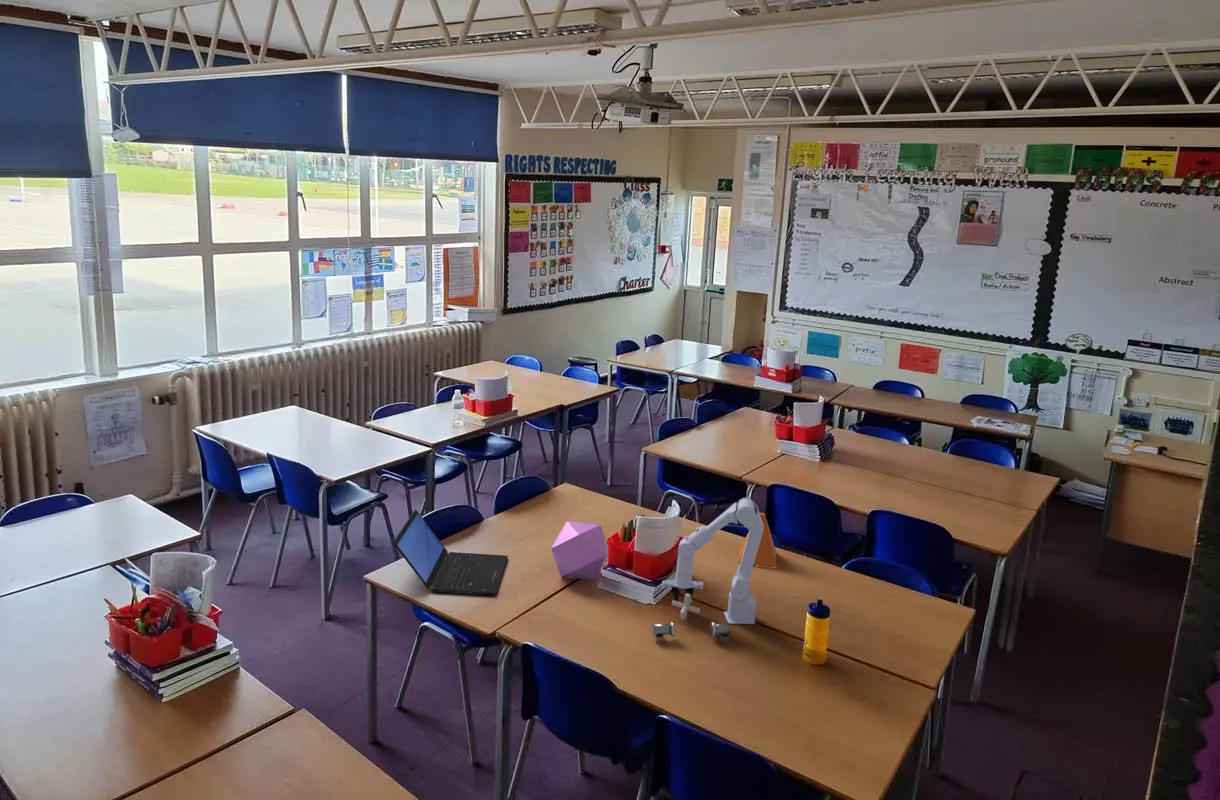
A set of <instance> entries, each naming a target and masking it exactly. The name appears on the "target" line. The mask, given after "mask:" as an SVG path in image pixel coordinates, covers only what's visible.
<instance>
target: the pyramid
mask: <svg viewBox="0 0 1220 800" xmlns="http://www.w3.org/2000/svg"><path fill="white" fill-rule="evenodd" d="M759 513H760V516H761V519H762V522H763V525H764V531H763V534H762V538H761V541H760V545H759V548H758V551H757V555H756V558H755V562H754V565H759V566H766V567H776V568H777V569H778V564H776V558H777V551H776V547H775V544H774V540H773V538H772V537H773V536H772V534H771V533H772V532H771V531H770V530H771V529H770V527H769V526H770V525H769V523H768V520H767V517H766V513H765V512H759ZM748 534H749V531H748V533H747V534H746V536H745V537H744V539H743V541H742V543H741V544H740V546H739V547H738V557H739V560H738V561H737V564H738V563H740V562H741V558H742V555H743V551H744V548H745V544H746V541H747V537H748ZM766 567H765V568H766Z"/></svg>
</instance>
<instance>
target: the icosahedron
mask: <svg viewBox="0 0 1220 800" xmlns="http://www.w3.org/2000/svg"><path fill="white" fill-rule="evenodd" d="M606 539H607V538H606V537H605V534H604V531H603V528H602V524H595V523H588V522H587V523H586V522H577V521H568V520H567V521H566V522H565V524H564V526H563V528H562V529H561V531H560V533H559V534H558V536H557V538H556V540H555V541H554V542H553V545H552V546H551V547H550V550H551V553H552V556H553V558H554V561H555V563H556V567H557V569H558V572H559V574H560V577H561V576H563V577H562V578H567V577H572V578H571V579H575V578H580V579H579V580H584V579H587V580H586V581H593V580H595V581H596V579H597V578H598V576H599V574H600V573H601V571H602V569H601V568H603V567H604V565H605V564H606V561H607V559H608V558H609V556H608V548H609V545H608V542H607V540H606ZM602 566H603V567H602Z"/></svg>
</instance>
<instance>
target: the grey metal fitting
mask: <svg viewBox="0 0 1220 800" xmlns="http://www.w3.org/2000/svg"><path fill="white" fill-rule="evenodd" d="M651 627H652V628H651V629H652V635H653V638H654V642H655V644H664V636H670V637H673V638H675V635H676V625H675V622H674V621H670V622H669V623H652V626H651Z"/></svg>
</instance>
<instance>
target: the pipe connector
mask: <svg viewBox="0 0 1220 800" xmlns="http://www.w3.org/2000/svg"><path fill="white" fill-rule="evenodd" d="M683 600H684V603H683V602H680V601H679V600H678V601H675V600H674V599H672V601H671V606H673V607H675V606H676V607H675V608H680V611H679V617H680V618H681V620H682V621H686V620H687V616H688V611H690V612H692V613H695V614H700V612H701V608H700V607H696V606H694V605H691V603H692V601H693V599H692V597H690V594H688V593H687V594H685V599H684V598H683Z"/></svg>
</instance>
